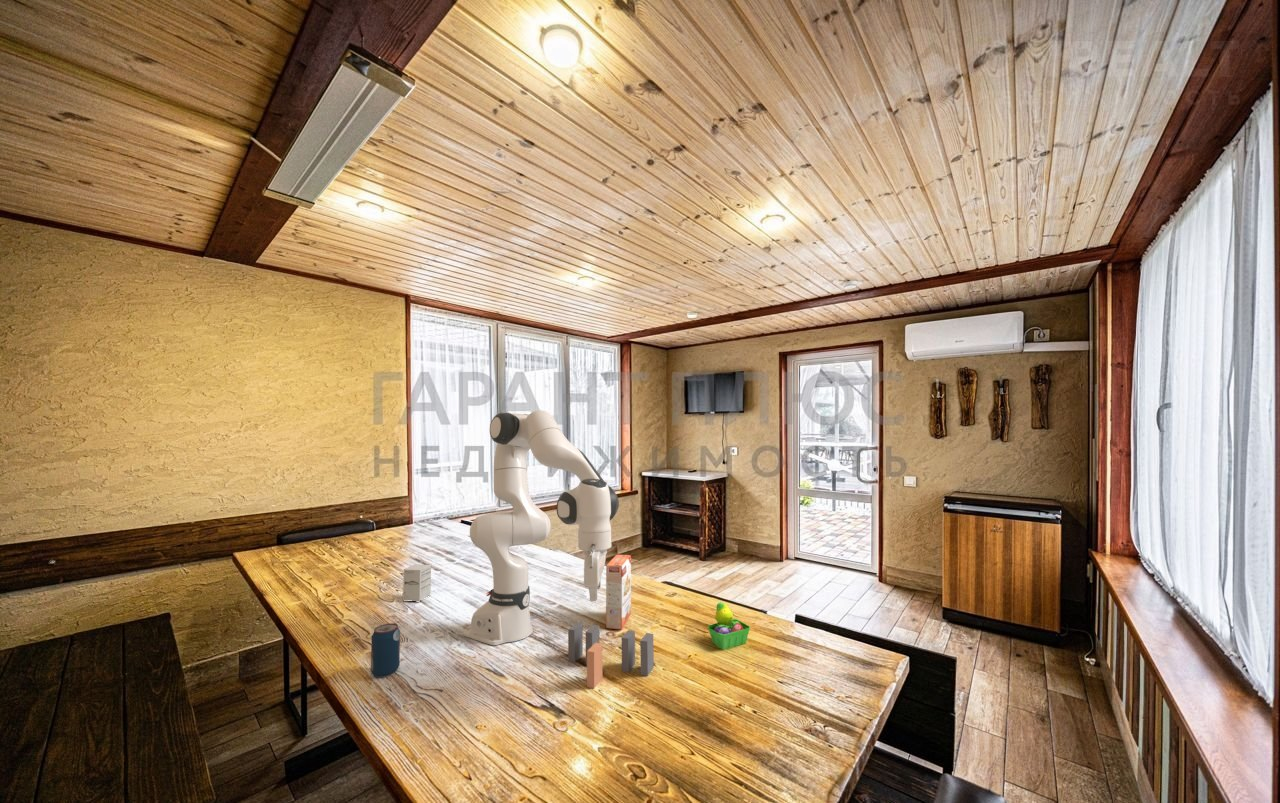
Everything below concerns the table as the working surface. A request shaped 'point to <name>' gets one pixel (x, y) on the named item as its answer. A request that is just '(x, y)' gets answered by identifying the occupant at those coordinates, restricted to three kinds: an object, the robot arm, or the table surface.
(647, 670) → the domino end
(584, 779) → the table surface
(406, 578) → the supplement box
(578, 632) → the domino
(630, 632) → the domino
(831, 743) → the table surface
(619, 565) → the cracker box
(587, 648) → the domino
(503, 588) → the robot arm
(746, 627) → the fruit basket
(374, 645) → the soda can
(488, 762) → the table surface
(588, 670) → the domino
